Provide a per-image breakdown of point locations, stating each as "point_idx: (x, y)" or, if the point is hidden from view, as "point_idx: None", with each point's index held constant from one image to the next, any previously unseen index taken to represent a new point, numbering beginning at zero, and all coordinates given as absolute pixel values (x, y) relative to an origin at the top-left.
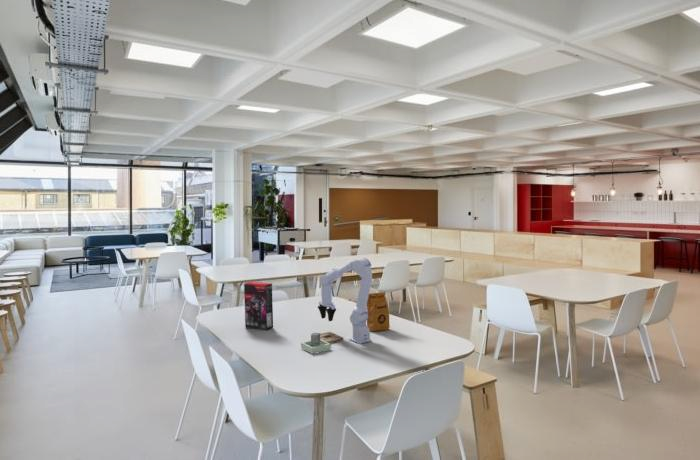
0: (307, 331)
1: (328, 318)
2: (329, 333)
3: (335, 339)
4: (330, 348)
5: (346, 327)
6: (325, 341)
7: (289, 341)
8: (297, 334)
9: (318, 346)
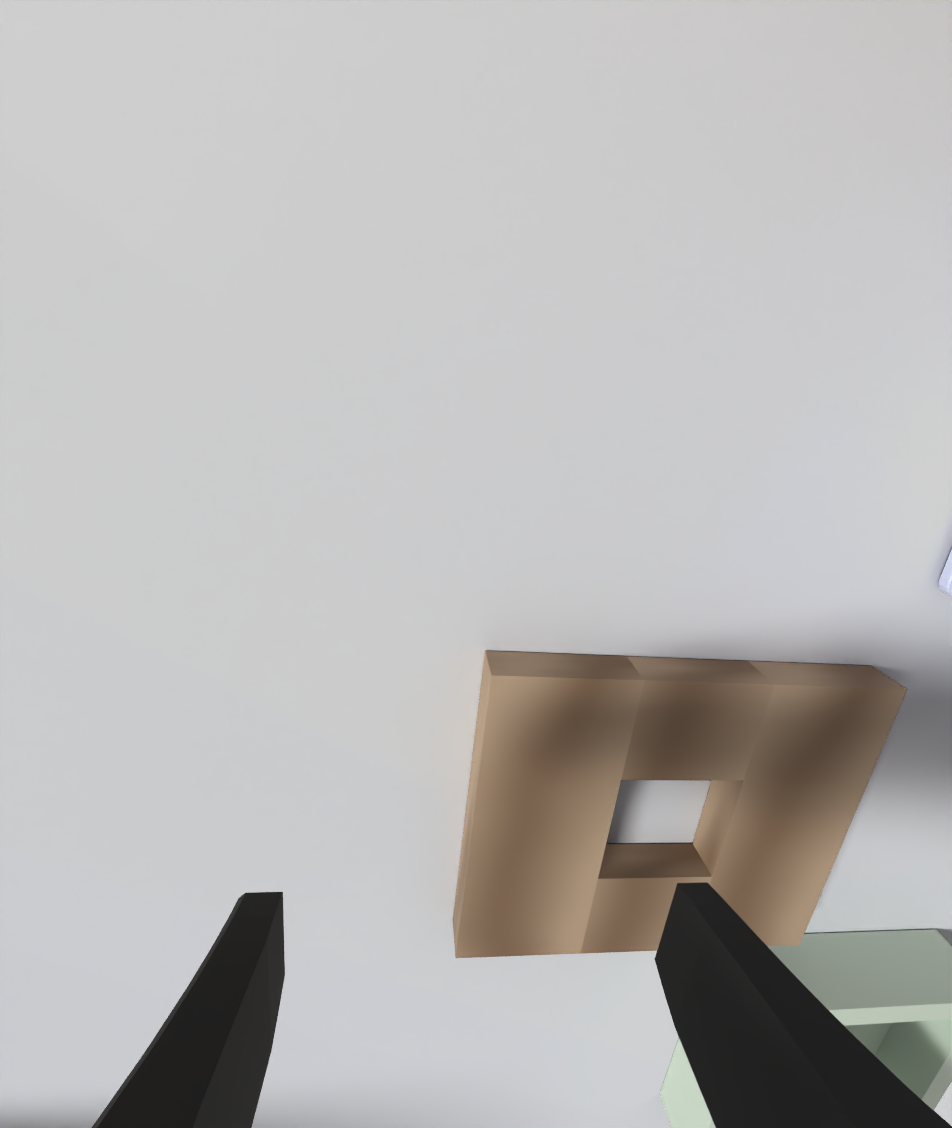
0: (93, 830)
1: (706, 1069)
2: (577, 735)
3: (855, 811)
4: (947, 944)
5: (314, 30)
6: (897, 1007)
7: (379, 1109)
8: (163, 978)
9: (933, 1105)
